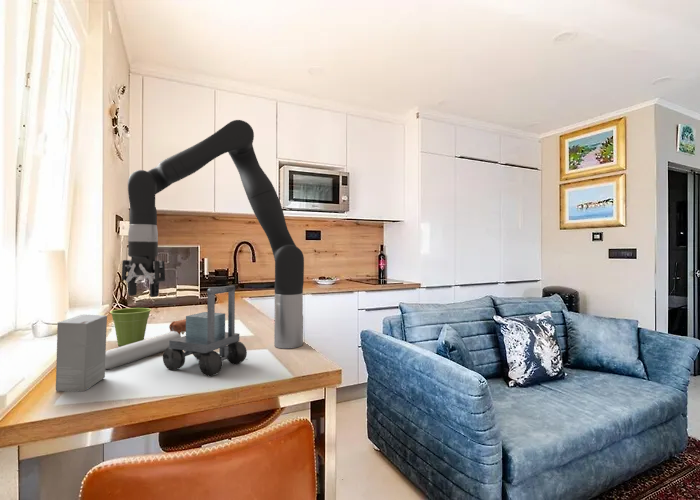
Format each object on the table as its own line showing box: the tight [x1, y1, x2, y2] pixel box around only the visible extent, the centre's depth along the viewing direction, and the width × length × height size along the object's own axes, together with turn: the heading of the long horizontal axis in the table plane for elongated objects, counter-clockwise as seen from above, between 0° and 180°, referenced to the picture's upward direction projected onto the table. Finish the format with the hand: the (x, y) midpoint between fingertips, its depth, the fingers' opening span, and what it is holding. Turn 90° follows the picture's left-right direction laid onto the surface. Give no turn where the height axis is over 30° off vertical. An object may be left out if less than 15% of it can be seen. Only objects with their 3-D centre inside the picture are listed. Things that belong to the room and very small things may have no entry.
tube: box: [105, 331, 182, 370], centre depth 106 cm, size 5×5×25 cm
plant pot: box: [109, 307, 152, 347], centre depth 120 cm, size 12×12×11 cm
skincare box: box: [55, 314, 108, 392], centre depth 84 cm, size 8×7×16 cm
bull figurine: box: [168, 318, 186, 335], centre depth 127 cm, size 4×13×8 cm, turn 148°
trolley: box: [162, 284, 248, 377], centre depth 98 cm, size 13×18×22 cm
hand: (143, 295), depth 106 cm, fingers open, 8 cm apart
